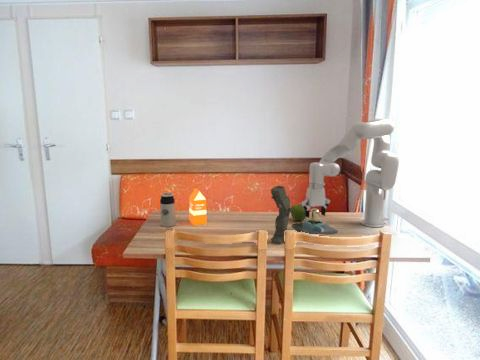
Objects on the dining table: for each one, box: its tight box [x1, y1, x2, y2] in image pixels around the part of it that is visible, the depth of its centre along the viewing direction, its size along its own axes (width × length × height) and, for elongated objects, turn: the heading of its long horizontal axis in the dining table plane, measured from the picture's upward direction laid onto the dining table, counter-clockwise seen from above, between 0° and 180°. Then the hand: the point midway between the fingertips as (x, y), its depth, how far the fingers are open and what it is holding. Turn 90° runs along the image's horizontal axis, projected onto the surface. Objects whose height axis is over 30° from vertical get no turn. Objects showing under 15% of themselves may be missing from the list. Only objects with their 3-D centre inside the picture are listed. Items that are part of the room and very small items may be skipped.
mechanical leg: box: [270, 185, 291, 245], centre depth 178 cm, size 14×7×30 cm, turn 141°
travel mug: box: [159, 192, 176, 228], centre depth 204 cm, size 8×8×18 cm
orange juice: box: [188, 187, 208, 226], centre depth 208 cm, size 8×9×20 cm
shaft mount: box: [291, 219, 339, 235], centre depth 198 cm, size 18×18×4 cm
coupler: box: [310, 207, 320, 224], centre depth 197 cm, size 4×5×10 cm
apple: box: [290, 203, 307, 222], centre depth 214 cm, size 11×10×10 cm
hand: (315, 216), depth 197 cm, fingers open, 9 cm apart
